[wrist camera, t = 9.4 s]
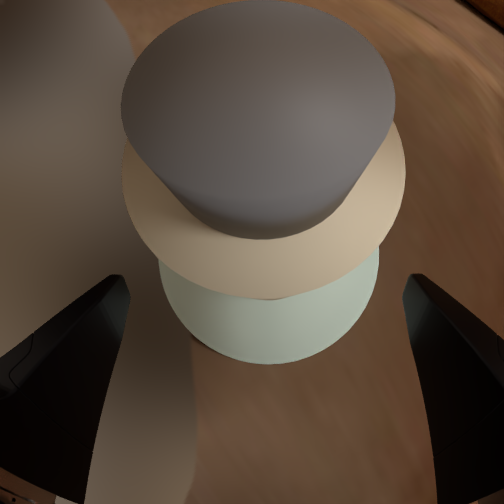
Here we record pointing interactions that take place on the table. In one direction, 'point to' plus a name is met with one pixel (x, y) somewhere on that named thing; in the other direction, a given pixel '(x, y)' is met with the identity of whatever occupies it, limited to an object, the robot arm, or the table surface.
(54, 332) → the robot arm
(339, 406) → the table surface
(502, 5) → the bread
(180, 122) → the pepper mill
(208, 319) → the pale green coaster
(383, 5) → the table surface
